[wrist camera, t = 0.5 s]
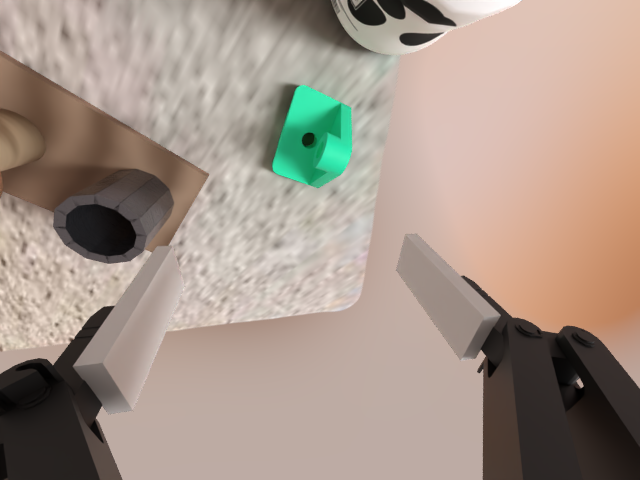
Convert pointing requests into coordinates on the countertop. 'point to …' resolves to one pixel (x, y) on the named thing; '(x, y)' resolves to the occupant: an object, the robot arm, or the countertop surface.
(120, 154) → the brown board with post
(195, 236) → the countertop surface
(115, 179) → the tube
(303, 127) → the camera mount
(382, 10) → the milk container
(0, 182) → the domed pot lid
